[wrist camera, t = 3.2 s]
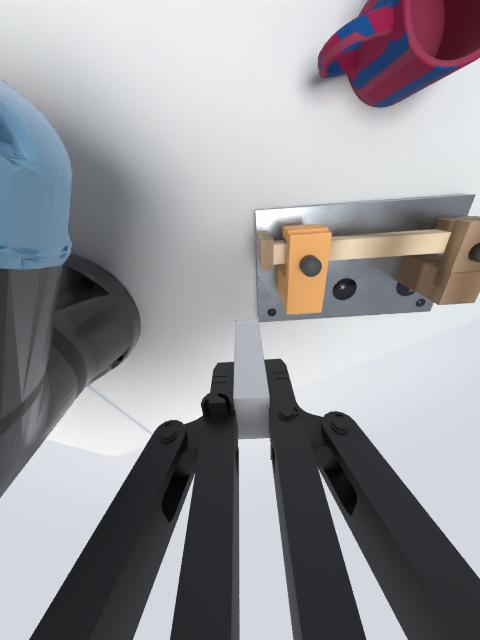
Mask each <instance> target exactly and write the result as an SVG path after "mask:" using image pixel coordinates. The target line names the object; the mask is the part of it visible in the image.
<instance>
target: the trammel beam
mask: <svg viewBox="0 0 480 640" xmlns="http://www.w3.org/2000/svg"><path fill="white" fill-rule="evenodd" d="M286 251H287V241H286V240H278V241H274V240H273V238H272V237H271V236H270V234H269V233H268V231H257V257H258V260H259V263H260V267H261V270H270V269H273V265H274V264H286ZM436 253H443V256H442V255H439V254H436ZM390 256H403V259H402V263H401V266H400V270H399V273H398V277H397V280H396V281H398V282H399V283H401V284H403V285H405V286H406V287H405V290H406V291H407V292H417V293H419V294H420V295H422V296H424V297H426V298H427V299H429V300H431V301H433V302H434V303H436V304H438V305H446V304H462V303H474V302H475V300H476V298H477V296H478V294H479V292H480V217H478V216H462V217H456V218H443V219H438V222H437V225H436V228H435V229H431V230H417V231H403V232H390V233H376V234H362V235H348V236H334V237H331V244H330V252H329V260H328V261H332V260H347V259H361V258H375V257H390Z"/></svg>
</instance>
